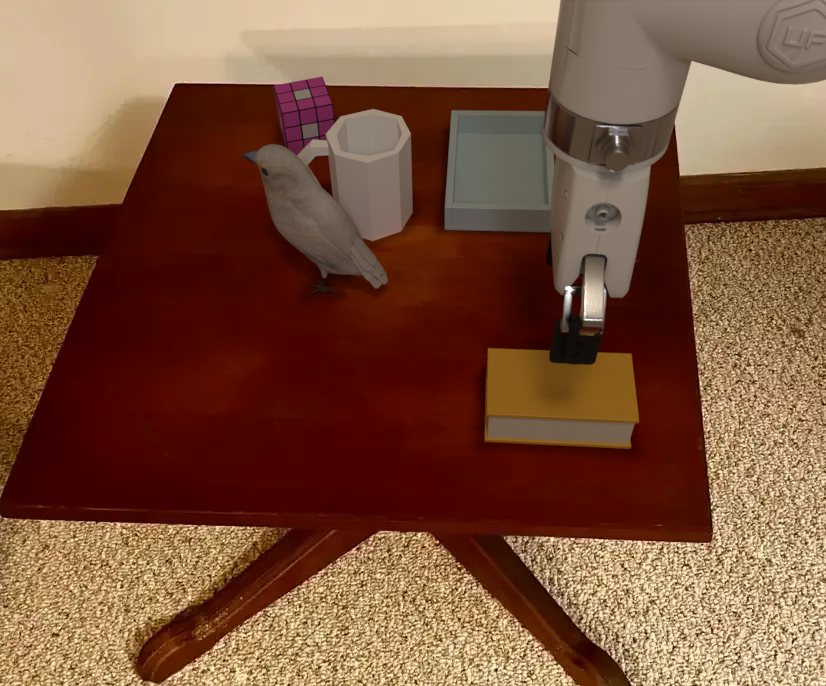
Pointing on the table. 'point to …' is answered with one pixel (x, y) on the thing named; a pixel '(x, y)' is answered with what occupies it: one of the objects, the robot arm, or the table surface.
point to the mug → (369, 170)
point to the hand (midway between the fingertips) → (568, 310)
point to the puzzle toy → (303, 112)
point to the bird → (313, 218)
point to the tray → (498, 172)
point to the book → (559, 400)
